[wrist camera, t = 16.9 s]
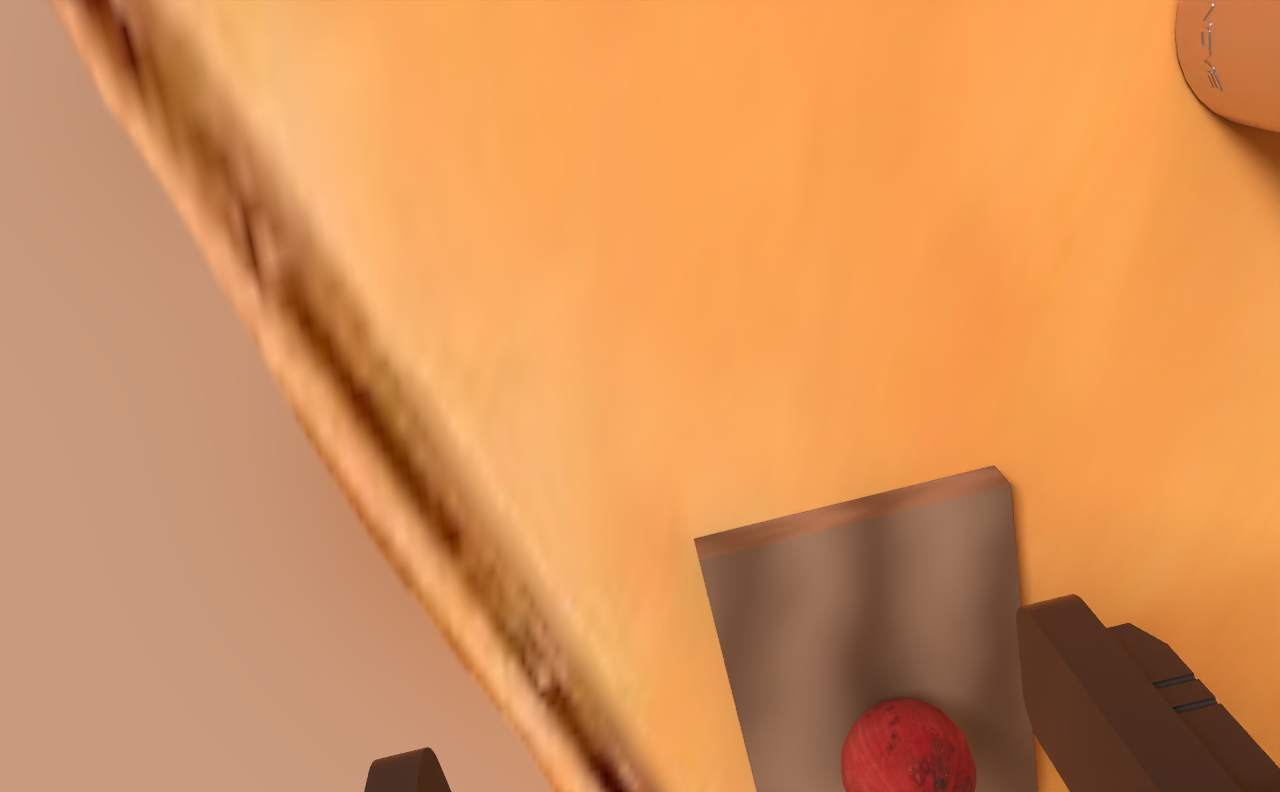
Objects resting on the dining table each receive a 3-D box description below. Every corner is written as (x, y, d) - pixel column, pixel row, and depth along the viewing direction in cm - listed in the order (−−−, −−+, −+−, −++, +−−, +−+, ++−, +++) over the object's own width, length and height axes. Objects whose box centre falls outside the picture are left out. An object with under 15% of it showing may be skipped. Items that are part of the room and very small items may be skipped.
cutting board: (993, 465, 45) (1010, 484, 43) (1024, 785, 53) (1039, 811, 51) (694, 538, 45) (699, 560, 43) (770, 845, 53) (777, 873, 51)
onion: (853, 650, 46) (908, 780, 39) (961, 677, 47) (1035, 807, 40) (805, 744, 48) (849, 883, 41) (910, 767, 49) (971, 907, 42)
